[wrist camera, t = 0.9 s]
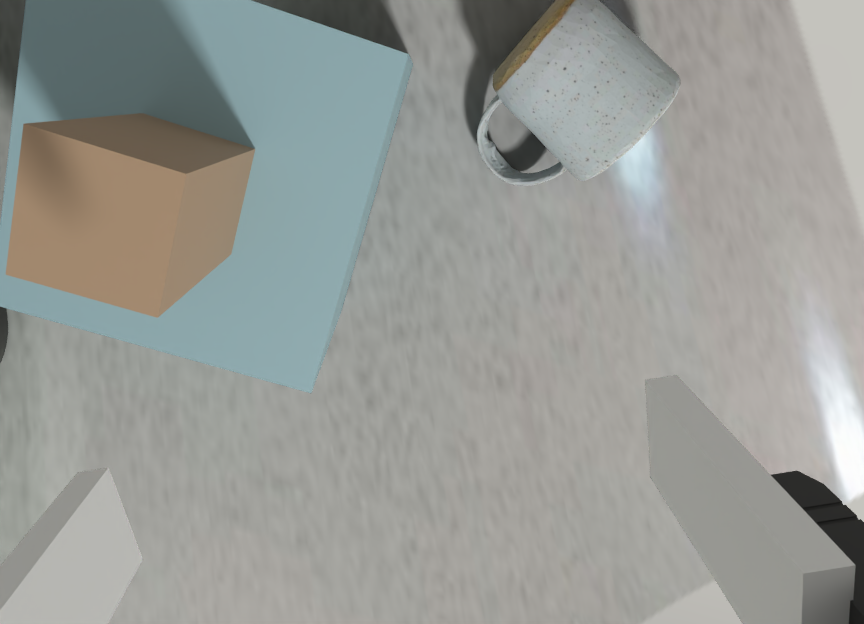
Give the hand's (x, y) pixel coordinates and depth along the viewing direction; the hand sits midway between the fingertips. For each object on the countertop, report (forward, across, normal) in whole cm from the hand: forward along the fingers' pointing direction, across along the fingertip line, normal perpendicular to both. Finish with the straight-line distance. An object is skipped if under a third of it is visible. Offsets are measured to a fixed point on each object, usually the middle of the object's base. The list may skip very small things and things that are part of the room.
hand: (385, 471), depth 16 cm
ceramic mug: (+29, +11, +6) cm, 32 cm away
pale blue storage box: (+29, -8, +6) cm, 31 cm away
